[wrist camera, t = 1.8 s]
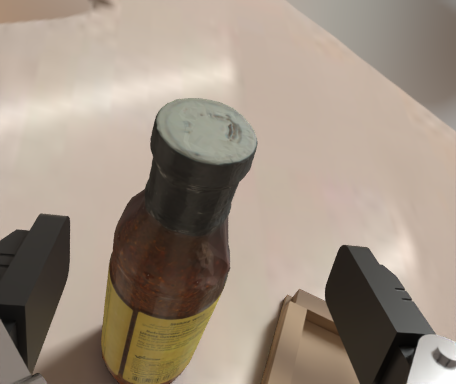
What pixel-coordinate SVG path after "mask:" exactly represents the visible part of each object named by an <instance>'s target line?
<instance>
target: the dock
mask: <svg viewBox="0 0 456 384" xmlns="http://www.w3.org/2000/svg"><path fill="white" fill-rule="evenodd" d="M261 384H360V383H359V381H358V378H357V376H356V374H355V371H354V369H353V367H352V364H351V362H350V359H349V357H348V355H347V352H346V350H345V347H344V345H343V343H342V340H341V338H340V336H339V333H338V331H337V328H336V326H335V324H334V321H333V319H332V316H331V314H330V312H329V309H328V307H327V304H326V301H324V300H322V299H320V298H318V297H316V296H314V295H311V294H309V293H307V292H305V291H303V290H301V289H299V290H298V291H297V292H296V294H295V295H294V296H293V297H291V296H289V295H287V296H286V297H285V298H284V302H283V306H282V309H281V313H280V316H279V320H278V324H277V327H276V331H275V334H274V338H273V342H272V345H271V349H270V352H269V356H268V359H267V363H266V367H265V370H264V374H263V377H262V381H261Z"/></svg>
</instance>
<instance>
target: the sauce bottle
mask: <svg viewBox="0 0 456 384" xmlns="http://www.w3.org/2000/svg"><path fill="white" fill-rule="evenodd" d="M150 146H151V151H152V154H153V160H152V167H151V172H150V177H149V180H148V182H147V184H146V187H145V189H144V190H143V191H141V192H140V193H138V194H137V195H136V196H134V197H132V198H131V200H130V201H129V203H128V204H127V206H126V208H125V210H124V212H123V214H122V216H121V218H120V220H119V221H118V224H117V226H116V230H115V233H114V241H113V242H114V243H113V252H112V254H111V258H110V263H109V271H108V280H107V289H106V297H105V306H104V317H103V326H102V337H101V346H102V358H103V359H104V361H105V364H106V366H107V369H108V370H109V371H110V372H111V374H112V375H113V377H114V378H115V379H116V380H117V381H118V382H119V383H120V384H170V383H171V382H172V381H174V380H175V379H176V378H177V377H178V376H179V375H180V374H181V373H182V371H183V370H184V369H185V368H186V366H187V365H188V364H189V362H190V360H191V358H192V356H193V354H194V352H195V350H196V347H197V345H198V343H199V341H200V339H201V336H202V334H203V332H204V330H205V327H206V325H207V323H208V321H209V319H210V317H211V315H212V313H213V311H214V309H215V306H216V304H217V302H218V300H219V298H220V295H221V293H222V291H223V289H224V286H225V283H226V280H227V277H228V272H229V270H230V250H229V245H228V215H229V213H230V209H231V202H232V199H233V196H234V194H235V191H236V189H237V187H238V184H239V182H240V181H241V180H242V179H243V178H244V177H245V176H246V174H247V173H248V172H249V170H250V168H251V164H252V161H253V158H254V155H255V152H256V148H257V138H256V135H255V132H254V130H253V128H252V127H251V125H250V124H249V123H248V122H247V121H246V119H245V118H244V117H243V116H242V115H241V114H239V113H238V112H237V111H236V110H235V109H233V108H231V107H229V106H227V105H225V104H223V103H220V102H217V101H212V100H207V99H199V98H188V99H177V100H174V101H172V102H170V103H167V104H166V105H165V106H164V107H162V108H161V109H160V111H159V112H158V114H157V116H156V119H155V122H154V127H153V130H152V136H151V143H150Z"/></svg>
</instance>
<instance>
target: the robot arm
mask: <svg viewBox="0 0 456 384" xmlns="http://www.w3.org/2000/svg"><path fill="white" fill-rule="evenodd" d="M69 263H70V218H69V217H68V216H60V215H50V214H40V215H39V216H38V217H37V219H36V221H35V223H34V224H33V226H32V228H31V229H30V231H27V230H15V231H14V232H12V233H11V234H9V235H8V236H6V237H5V238H3V239H2V240H1V241H0V384H47V382H46V380H45V379H44V377H43V376H42V375H41V374H39V373H37V374H35V375H32V373H33V370H34V367H35V365H36V362H37V359H38V357H39V354H40V351H41V349H42V346H43V343H44V341H45V338H46V335H47V333H48V330H49V327H50V325H51V322H52V319H53V316H54V314H55V311H56V308H57V306H58V303H59V300H60V298H61V295H62V292H63V290H64V287H65V284H66V281H67V277H68V272H69ZM325 300H326V304H327V307H328V309H329V312H330V314H331V316H332V319H333V321H334V324H335V326H336V328H337V331H338V333H339V336H340V338H341V340H342V343H343V345H344V347H345V350H346V352H347V355H348V357H349V359H350V362H351V364H352V367H353V369H354V371H355V374H356V376H357V378H358V381H359V383H360V384H456V342H454V341H452V340H450V339H448V338H446V337H443V336H439V335H436V334H435V332H434V331H433V329H432V328H431V326H430V325H429V323H428V322H427V320H426V319H425V318H424V316H423V315H422V313H421V312H420V310H419V309H418V307H417V306H416V304H415V303H414V302H413V301H412V299H411V297H410V296H409V294H408V293H407V291H405V288H404V287H403V285H402V284H401V282H400V281H399V279H398V278H397V277H396V276H395V275H394V274H393V273H392V272H391V271H389V270H388V269H387V268H386V267H385V266H383V265H379V263H378V262H377V260H376V258H375V257H374V255H373V254H372V252H371V251H370V249H369V248H367V247H359V246H349V245H342V246H341V247H340V248H339V250H338V253H337V256H336V258H335V261H334V264H333V267H332V270H331V272H330V275H329V278H328V281H327V284H326V288H325Z"/></svg>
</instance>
